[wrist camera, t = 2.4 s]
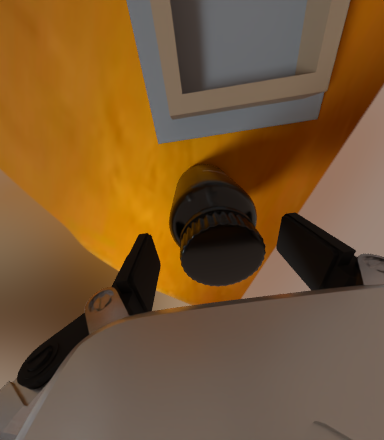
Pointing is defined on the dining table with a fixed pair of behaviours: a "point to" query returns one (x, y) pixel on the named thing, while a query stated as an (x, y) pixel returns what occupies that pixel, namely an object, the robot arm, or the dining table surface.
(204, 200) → the supplement bottle
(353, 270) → the robot arm
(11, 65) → the dining table surface
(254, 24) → the bottle stand
